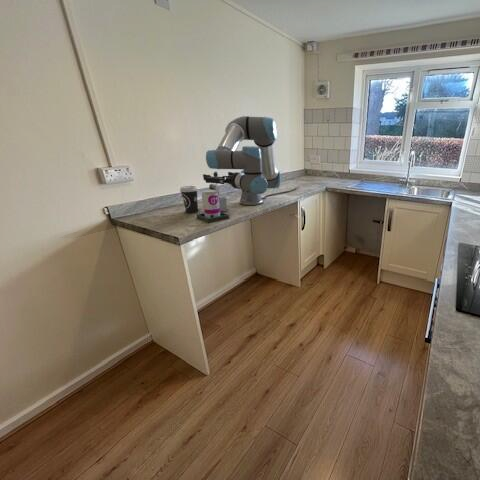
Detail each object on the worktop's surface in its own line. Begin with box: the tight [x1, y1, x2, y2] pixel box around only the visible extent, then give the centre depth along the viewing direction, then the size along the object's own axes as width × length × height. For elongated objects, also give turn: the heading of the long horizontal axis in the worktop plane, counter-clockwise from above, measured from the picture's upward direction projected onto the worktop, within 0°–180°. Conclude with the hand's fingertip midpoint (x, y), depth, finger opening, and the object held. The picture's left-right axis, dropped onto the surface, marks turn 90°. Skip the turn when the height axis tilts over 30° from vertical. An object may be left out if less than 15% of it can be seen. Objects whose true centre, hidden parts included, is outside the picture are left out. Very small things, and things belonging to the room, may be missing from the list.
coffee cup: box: [179, 185, 199, 214], centre depth 155 cm, size 10×10×15 cm
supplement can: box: [201, 189, 220, 219], centre depth 143 cm, size 8×8×15 cm
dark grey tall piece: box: [208, 171, 220, 197], centre depth 182 cm, size 8×11×20 cm
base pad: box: [196, 211, 230, 224], centre depth 146 cm, size 13×13×2 cm
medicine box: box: [218, 195, 228, 212], centre depth 159 cm, size 8×4×9 cm, turn 111°
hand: (216, 175), depth 131 cm, fingers open, 13 cm apart
